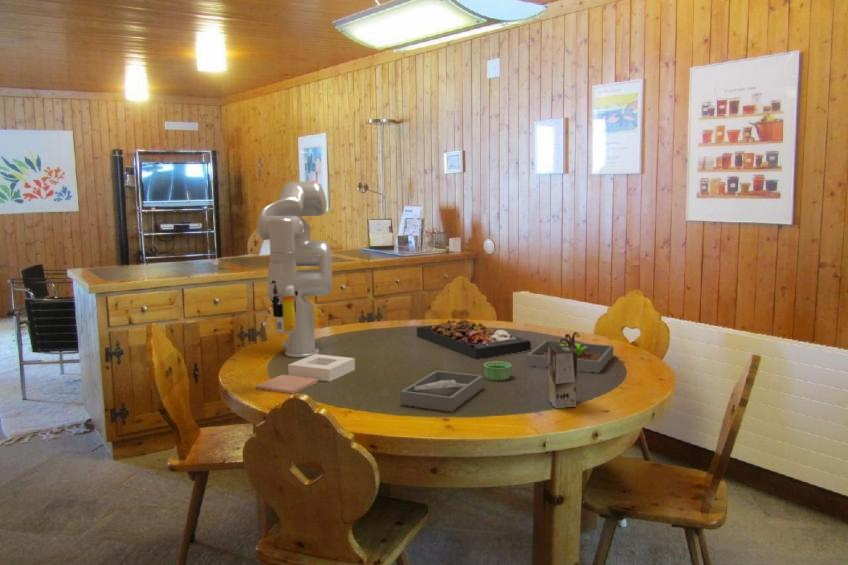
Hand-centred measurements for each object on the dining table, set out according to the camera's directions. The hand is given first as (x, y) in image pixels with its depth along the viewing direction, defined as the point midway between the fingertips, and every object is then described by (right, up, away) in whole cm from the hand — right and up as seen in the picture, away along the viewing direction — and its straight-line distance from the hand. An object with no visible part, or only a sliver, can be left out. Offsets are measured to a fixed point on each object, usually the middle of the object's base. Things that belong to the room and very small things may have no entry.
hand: (284, 314), depth 221 cm
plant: (+96, -19, +30) cm, 103 cm away
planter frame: (+96, -18, +30) cm, 102 cm away
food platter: (+62, -15, +59) cm, 87 cm away
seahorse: (+50, -24, -10) cm, 56 cm away
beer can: (0, -6, +1) cm, 6 cm away
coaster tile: (0, -23, +3) cm, 23 cm away
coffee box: (+83, -25, -18) cm, 89 cm away
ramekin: (+68, -21, +10) cm, 72 cm away
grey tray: (+49, -24, -10) cm, 56 cm away
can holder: (+9, -21, +18) cm, 29 cm away
